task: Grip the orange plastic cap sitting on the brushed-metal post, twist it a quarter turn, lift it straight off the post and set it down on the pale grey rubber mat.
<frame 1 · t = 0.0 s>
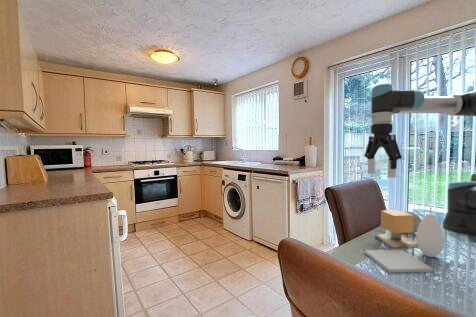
hand: (380, 175, 98), 28 cm above the table, tool pointing down, fingers open, 13 cm apart
post stand: (396, 241, 99), on the table
mat: (396, 261, 82), on the table
white egg shape: (429, 256, 86), on the table
cap: (396, 229, 99), point 5 cm above the table, touching post stand
donut: (408, 233, 110), on the table
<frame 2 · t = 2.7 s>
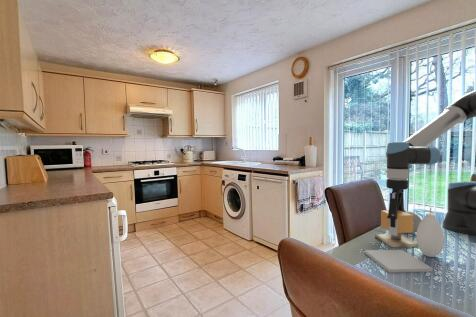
hand: (396, 230, 99), 5 cm above the table, tool pointing down, fingers closed on cap, 11 cm apart
cap: (396, 229, 99), point 5 cm above the table, touching gripper, post stand
everything else where it was.
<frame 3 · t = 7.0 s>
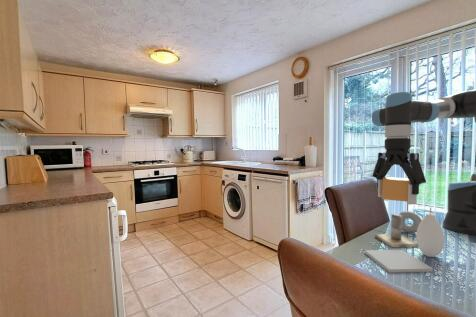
hand: (395, 200, 83), 21 cm above the table, tool pointing down, fingers closed on cap, 11 cm apart
cap: (395, 198, 83), point 22 cm above the table, touching gripper
everything else where it was.
when the fingers open (3 cm above the table, at t = 11.2 s): cap drops 3 cm, resting on mat.
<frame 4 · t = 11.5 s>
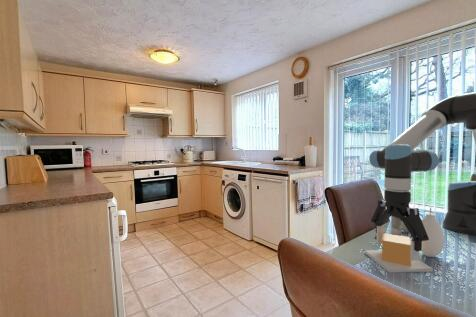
hand: (396, 251, 82), 4 cm above the table, tool pointing down, fingers open, 13 cm apart
cap: (395, 258, 82), point 1 cm above the table, touching mat
everything else where it was.
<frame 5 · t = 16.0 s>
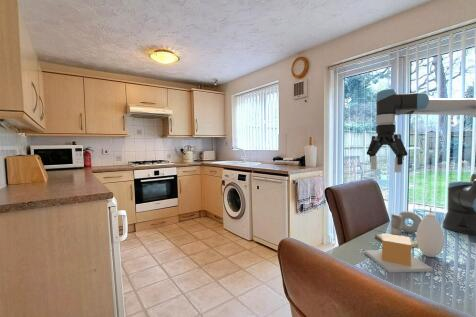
hand: (384, 170, 109), 29 cm above the table, tool pointing down, fingers open, 13 cm apart
nothing on the table moved.
at the end: cap inside the target area on the mat (0.1 cm from its centre), point 1.0 cm above the mat's base; cap tilted 0°; the gripper is holding nothing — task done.
